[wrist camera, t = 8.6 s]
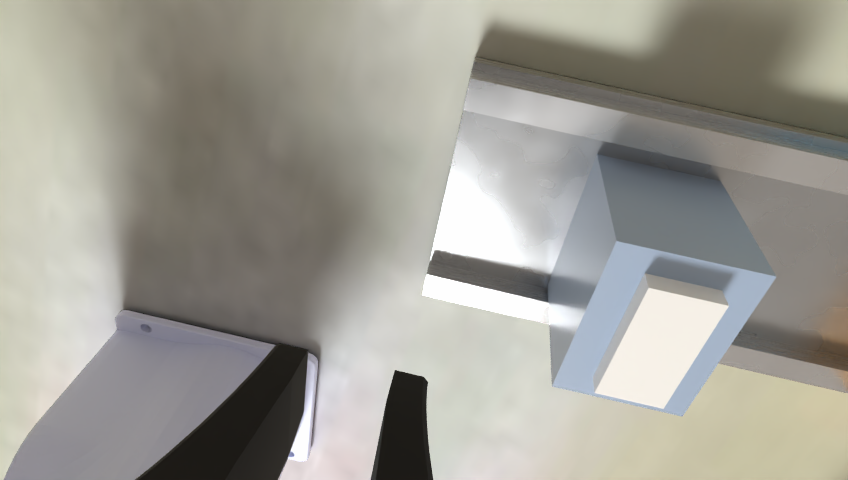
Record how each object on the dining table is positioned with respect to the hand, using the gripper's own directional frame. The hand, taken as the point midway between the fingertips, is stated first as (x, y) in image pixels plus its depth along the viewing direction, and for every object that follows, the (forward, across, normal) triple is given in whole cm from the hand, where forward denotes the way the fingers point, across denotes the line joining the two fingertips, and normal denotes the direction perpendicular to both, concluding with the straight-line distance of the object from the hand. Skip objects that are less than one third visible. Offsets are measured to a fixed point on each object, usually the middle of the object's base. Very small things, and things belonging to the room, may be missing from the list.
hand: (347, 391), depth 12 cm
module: (+9, -8, 0) cm, 12 cm away
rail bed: (+10, -10, 0) cm, 14 cm away
